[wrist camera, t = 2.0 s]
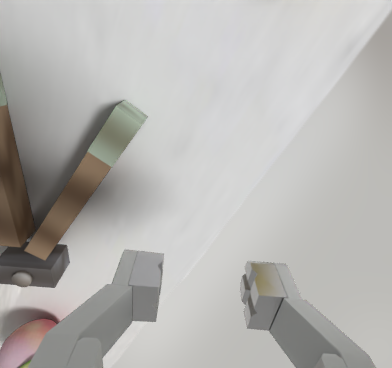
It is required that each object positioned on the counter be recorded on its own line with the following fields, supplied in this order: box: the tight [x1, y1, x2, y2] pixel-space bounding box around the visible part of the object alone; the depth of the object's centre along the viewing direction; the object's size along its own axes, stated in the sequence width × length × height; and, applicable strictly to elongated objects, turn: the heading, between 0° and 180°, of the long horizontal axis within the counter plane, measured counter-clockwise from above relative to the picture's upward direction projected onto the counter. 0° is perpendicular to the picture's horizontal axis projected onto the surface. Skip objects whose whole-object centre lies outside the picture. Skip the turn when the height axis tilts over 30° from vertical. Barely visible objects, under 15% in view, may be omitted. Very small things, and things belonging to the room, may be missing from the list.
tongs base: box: [0, 74, 70, 288], centre depth 25 cm, size 25×6×5 cm, turn 173°
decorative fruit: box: [0, 319, 57, 368], centre depth 34 cm, size 9×8×10 cm
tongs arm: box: [24, 100, 148, 260], centre depth 26 cm, size 20×2×3 cm, turn 141°
